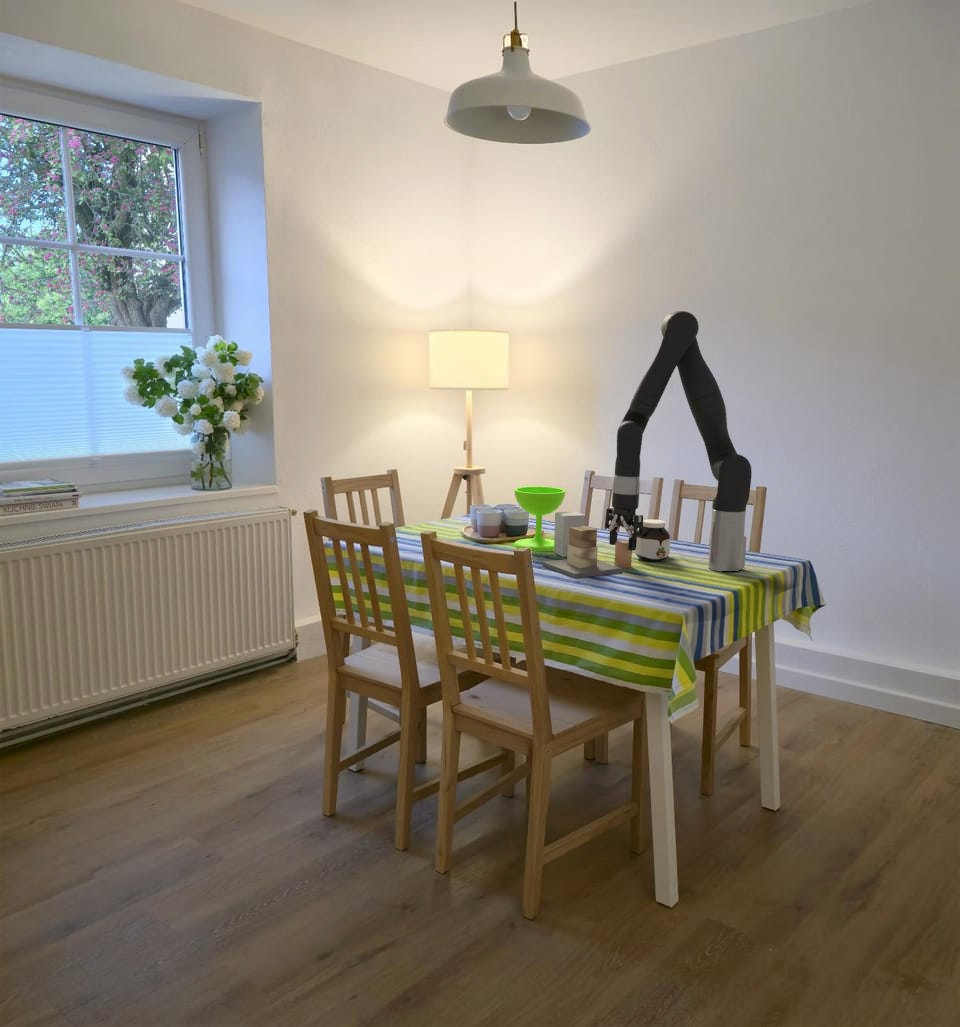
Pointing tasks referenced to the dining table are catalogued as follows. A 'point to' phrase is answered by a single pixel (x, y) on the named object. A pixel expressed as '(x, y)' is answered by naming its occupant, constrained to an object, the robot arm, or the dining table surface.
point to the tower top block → (583, 537)
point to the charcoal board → (576, 572)
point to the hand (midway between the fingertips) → (622, 547)
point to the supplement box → (565, 529)
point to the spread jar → (653, 542)
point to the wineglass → (538, 512)
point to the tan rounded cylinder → (622, 554)
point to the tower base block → (582, 556)
